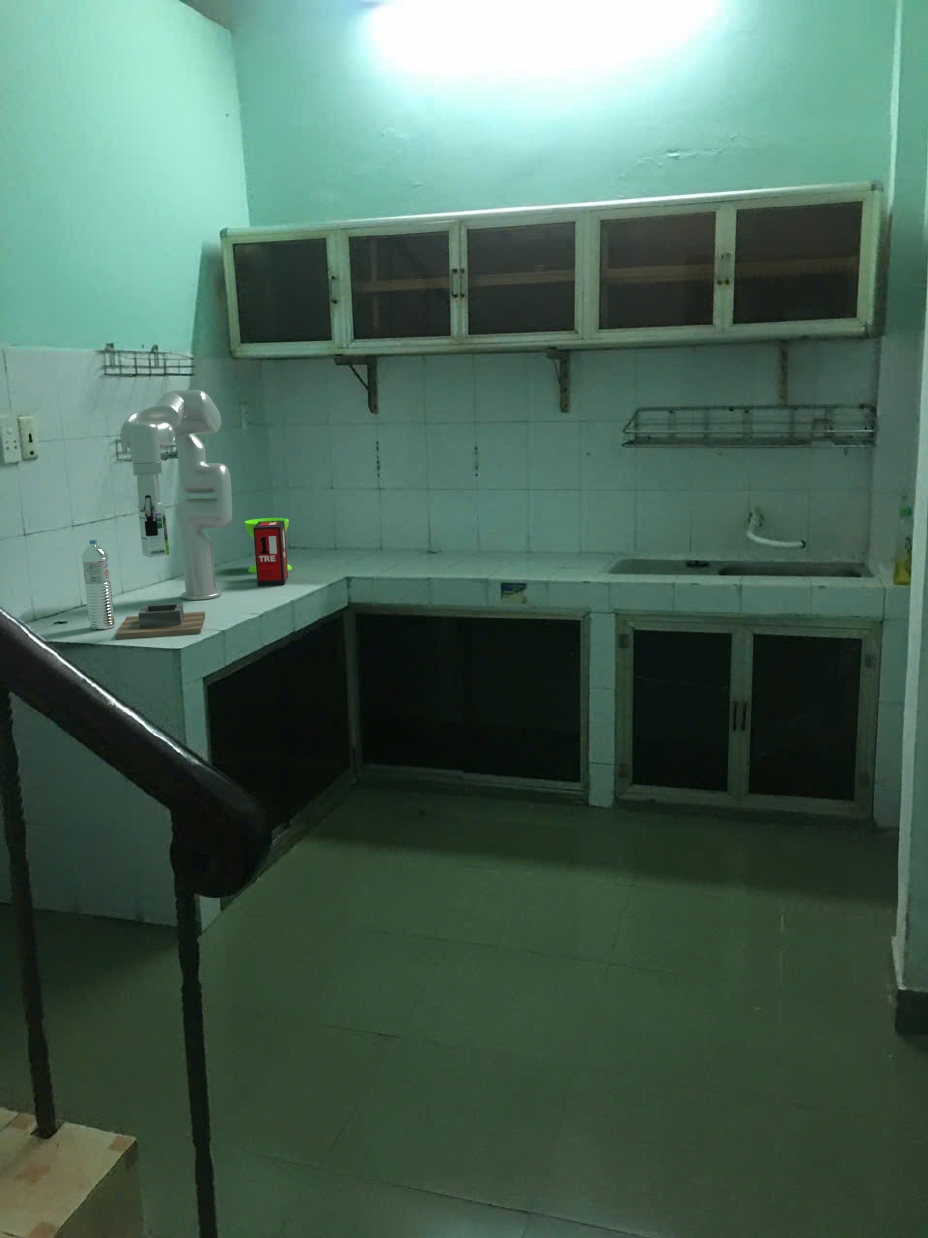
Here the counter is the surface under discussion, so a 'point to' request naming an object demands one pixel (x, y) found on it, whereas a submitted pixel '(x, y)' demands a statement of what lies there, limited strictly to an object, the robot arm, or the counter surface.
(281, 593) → the counter surface
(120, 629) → the socket board
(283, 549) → the cleaning product box
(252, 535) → the wineglass
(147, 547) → the syrup box
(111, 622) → the water bottle
